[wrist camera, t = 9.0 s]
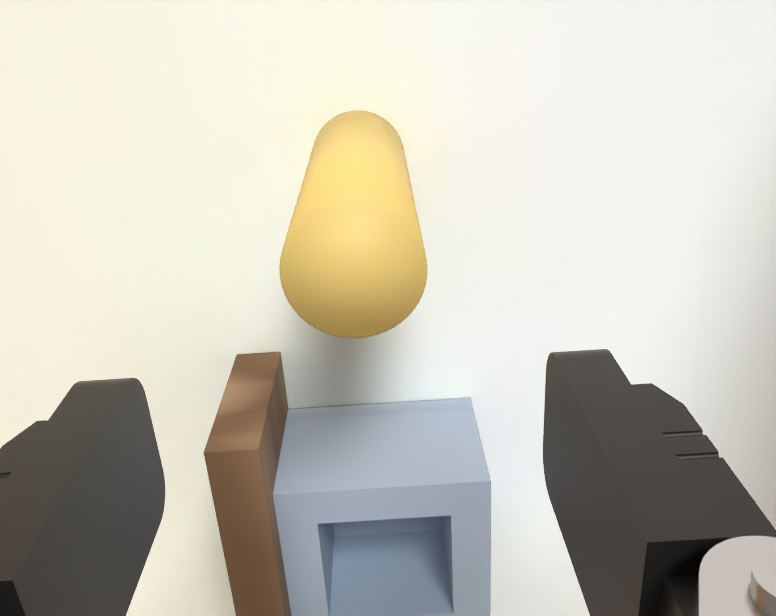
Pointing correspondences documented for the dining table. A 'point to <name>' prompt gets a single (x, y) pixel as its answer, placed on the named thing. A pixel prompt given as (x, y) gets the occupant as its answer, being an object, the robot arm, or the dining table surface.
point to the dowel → (355, 232)
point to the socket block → (385, 510)
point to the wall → (250, 482)
